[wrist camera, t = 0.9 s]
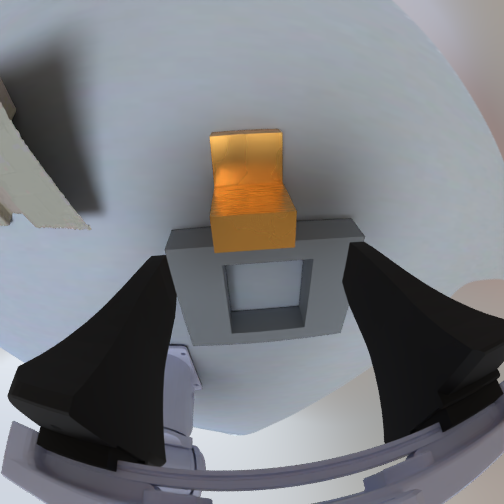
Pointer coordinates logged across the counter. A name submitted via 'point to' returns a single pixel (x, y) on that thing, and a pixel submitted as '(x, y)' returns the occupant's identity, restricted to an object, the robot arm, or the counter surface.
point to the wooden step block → (250, 192)
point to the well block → (306, 248)
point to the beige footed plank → (28, 180)
